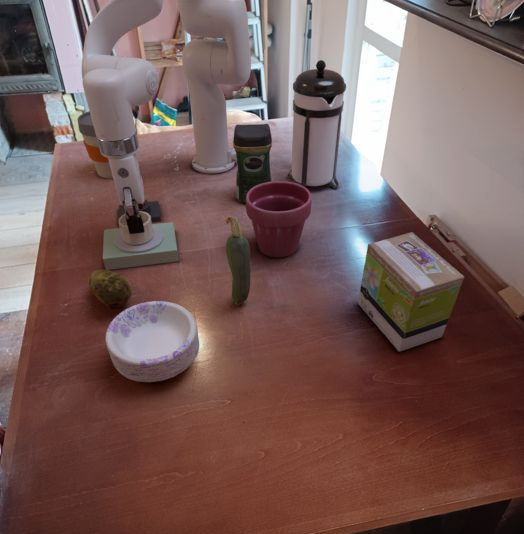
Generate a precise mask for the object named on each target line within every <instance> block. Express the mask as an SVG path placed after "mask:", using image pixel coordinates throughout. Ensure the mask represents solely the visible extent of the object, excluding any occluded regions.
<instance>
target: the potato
mask: <svg viewBox="0 0 524 534" xmlns="http://www.w3.org/2000/svg"><path fill="white" fill-rule="evenodd" d="M88 284H89V288H90V291H91V292H92V294H93V295H94V296H95V297H96V298H97V300H98V301H99V302H101V303H102V304H103V305H104V306H106V308H107V309H110V310H115V309H116V308H121V307H123V306H124V305H125V304H126V303H127V302H128V301H129V299H130V298H131V297H132V288H131V285H130V283H129V281H128V280H126V278H125V277H124V276H122V275H120V273H116V272H115V271H112V270H106V269H104V268H100V269H96V270H94V271H93V272H92V273H91V275H90V277H89V283H88Z"/></svg>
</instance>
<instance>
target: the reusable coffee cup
mask: <svg viewBox="0 0 524 534" xmlns="http://www.w3.org/2000/svg"><path fill="white" fill-rule="evenodd" d="M77 125H78V131H79V133H80V134H81V135H82V138H83V141H82V142H83V144H84V147H85V150H86V153H87V155H88V157H89V159H90V160H91V161H92V164H93V165H94V168H95V171H96V173H97V175H98V176H99V177H101V178H104V179H113V176H112V172H111V168H110V164H109V160H108V158H107V157H104V156H103V155H101V152H100V148H99V144H98V141H97V137H96V133H95V129H94V126H93V122H92V118H91V114H90V111H89V110H88V111H86V112H83V113H82V114H80V115H79V116H78V117H77Z"/></svg>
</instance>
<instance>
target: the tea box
mask: <svg viewBox="0 0 524 534" xmlns="http://www.w3.org/2000/svg"><path fill="white" fill-rule="evenodd" d="M362 270H363V271H362V277H361V283H360V288H359V294H358V301H357V304H358V306H360V308H361V309H362V310H363V311H364V313H365V314H366V315H367V316H368V317H369V319H370V320H371V321H372V322H373V323H374V324H375V325H376V326H377V327H378V329H379V330H380V332H381V333H382V334H383V335H384V336H385V337H386V338H387V340H388V341H389V342H390V343H391V345H393V347H394V348H395V349H396V350H397V351H398V352H399V353H400V352H403V351H406V350H409V349H412V348H416V347H417V346H420V345H424V344H426V343H429V342H433V341H435V340H438V339H440V338H443V335H444V332H445V331H446V327H447V325H448V323H449V320H450V317H451V315H452V312H453V308H454V306H455V304H456V301H457V298H458V296H459V293H460V290H461V287H462V285H463V282H464V279H465V276H464V275H463V274H462V273H461V272H459V271H458V270H457V269H456V268H455V267H453V266H452V265H451V264H450V263H449V262H448V261H447V260H446V259H444V257H442V256H440V255H439V253H437V252H436V251H435V250H434V249H432V247H430V246H429V245H428V244H427V243H425V241H423V240H422V239H421V238H419V237H418V235H416V234H415V233H414V232H413V231H411V232H407V233H403V234H401V235H400V234H399V235H397V236H393V237H390V238H386V239H382V240H379V241H376V242H371V243H368V244H367V248H366V253H365V261H364V265H363V269H362Z"/></svg>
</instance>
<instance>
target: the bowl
mask: <svg viewBox="0 0 524 534" xmlns="http://www.w3.org/2000/svg"><path fill="white" fill-rule="evenodd" d="M139 214H140V215H141V217H142V221H143V225H144V231H145V232H144V233H137V234H130V233H129V230H128V226H127V222H126V218H125V216H126V215H125V214H124V215H122V216H121V217H120V218H119V217H118V226H119V227H118V228H120V231H121V235H122V239H123V240H124V241H125V242H126V243H128V244H131V245H142V244H145V243H147V242H149V241H150V240H151V239H152V237H153V236H154V231H153V226H152V224H153V222H152V221H151V216H150V215H149V214H148V213H146V212H143V211H139Z"/></svg>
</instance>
